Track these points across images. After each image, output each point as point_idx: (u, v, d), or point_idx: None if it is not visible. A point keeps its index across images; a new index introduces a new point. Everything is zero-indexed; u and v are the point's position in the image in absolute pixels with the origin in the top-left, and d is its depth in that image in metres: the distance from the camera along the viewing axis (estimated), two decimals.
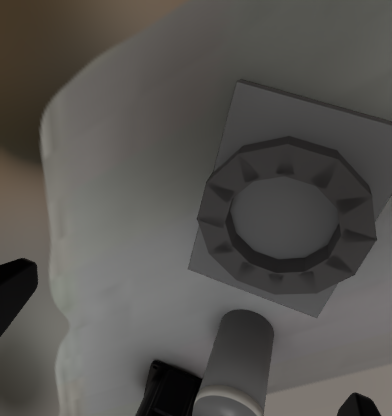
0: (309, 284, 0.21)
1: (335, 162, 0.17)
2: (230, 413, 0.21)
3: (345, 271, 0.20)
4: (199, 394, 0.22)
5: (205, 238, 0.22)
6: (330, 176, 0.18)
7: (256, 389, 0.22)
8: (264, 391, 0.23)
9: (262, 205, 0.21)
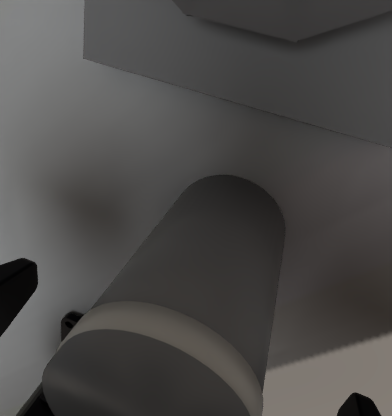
0: None
1: None
2: (146, 388, 0.06)
3: None
4: None
5: None
6: None
7: (239, 318, 0.07)
8: (265, 331, 0.08)
9: None
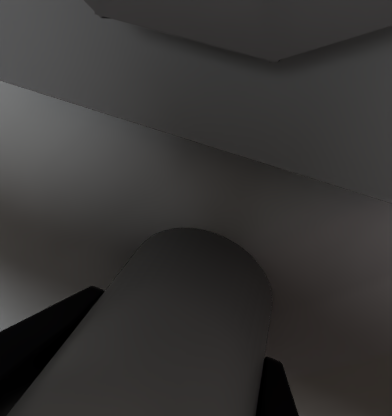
0: None
1: None
2: None
3: None
4: None
5: None
6: None
7: None
8: None
9: None
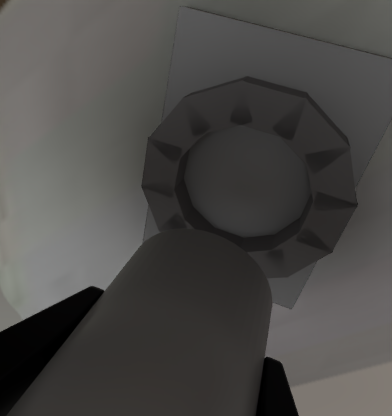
0: (278, 266, 0.17)
1: (302, 103, 0.13)
2: None
3: (320, 248, 0.16)
4: None
5: (153, 211, 0.18)
6: (296, 122, 0.14)
7: None
8: None
9: (220, 170, 0.17)
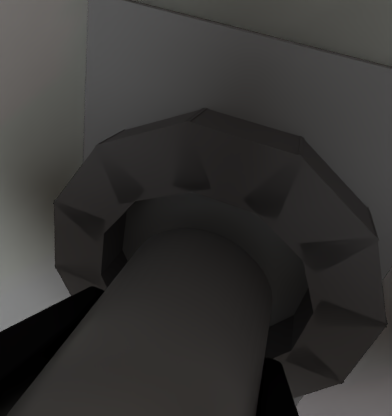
0: None
1: (293, 162, 0.08)
2: None
3: (324, 376, 0.10)
4: None
5: None
6: (284, 193, 0.08)
7: None
8: None
9: None
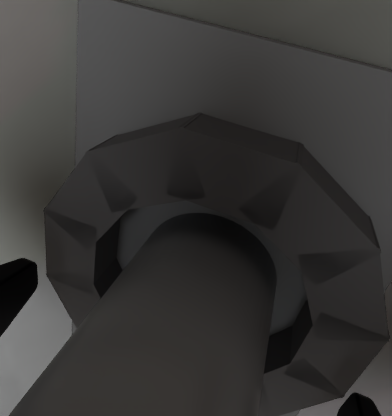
0: None
1: (292, 171, 0.07)
2: None
3: (324, 389, 0.10)
4: None
5: (68, 309, 0.12)
6: (282, 203, 0.08)
7: None
8: None
9: None
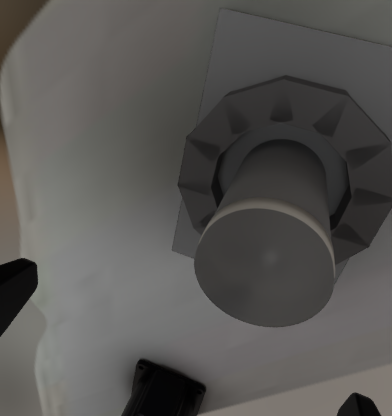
0: None
1: (344, 100, 0.14)
2: (272, 239, 0.10)
3: (357, 243, 0.16)
4: (207, 225, 0.12)
5: (188, 209, 0.18)
6: (338, 119, 0.14)
7: (317, 210, 0.11)
8: (329, 226, 0.12)
9: None
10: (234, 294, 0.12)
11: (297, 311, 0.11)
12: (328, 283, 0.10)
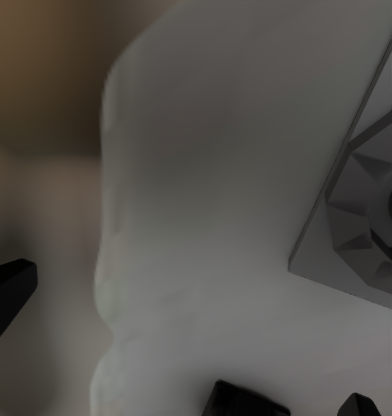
0: None
1: None
2: None
3: None
4: None
5: (333, 230, 0.17)
6: None
7: None
8: None
9: None
10: None
11: None
12: None
